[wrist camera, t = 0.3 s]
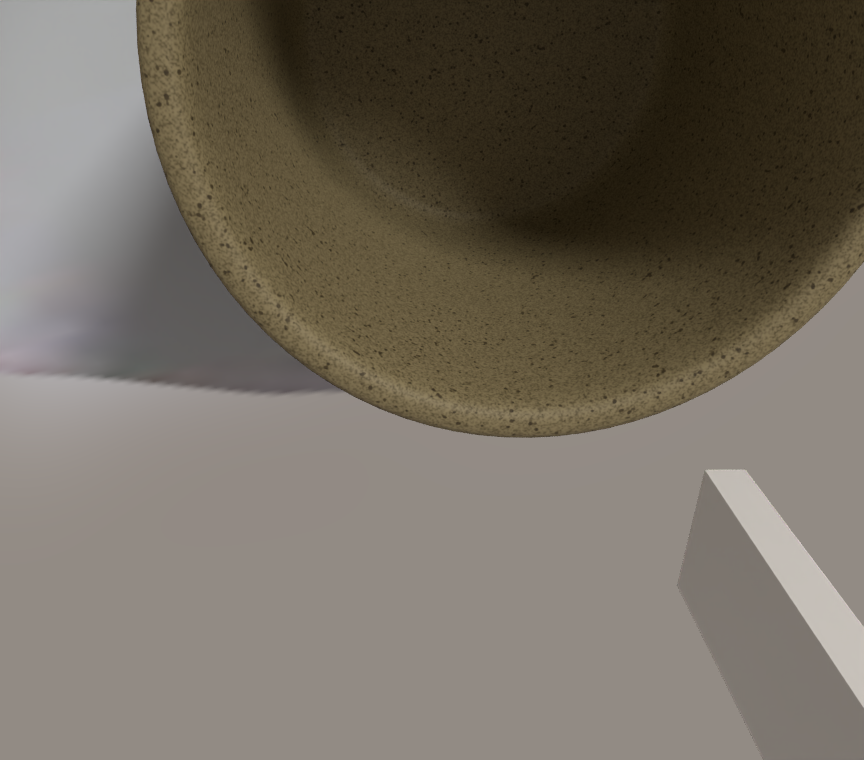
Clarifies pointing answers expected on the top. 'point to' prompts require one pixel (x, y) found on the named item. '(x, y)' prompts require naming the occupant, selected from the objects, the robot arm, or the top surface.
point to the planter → (516, 190)
